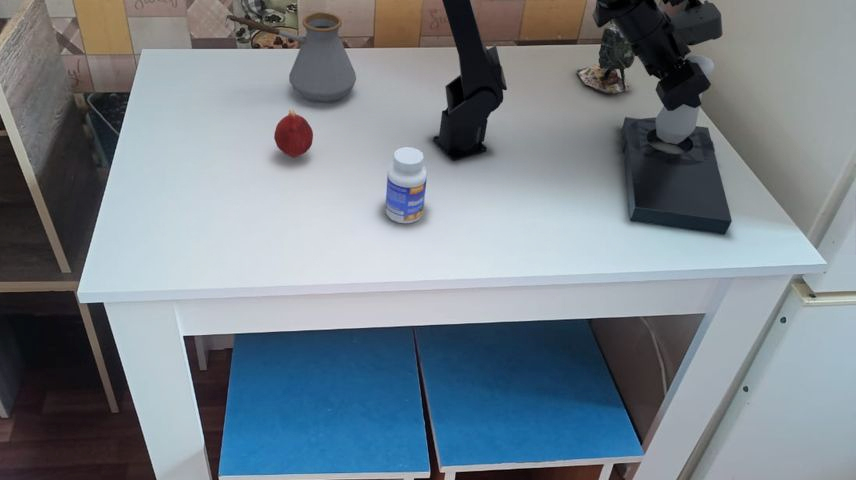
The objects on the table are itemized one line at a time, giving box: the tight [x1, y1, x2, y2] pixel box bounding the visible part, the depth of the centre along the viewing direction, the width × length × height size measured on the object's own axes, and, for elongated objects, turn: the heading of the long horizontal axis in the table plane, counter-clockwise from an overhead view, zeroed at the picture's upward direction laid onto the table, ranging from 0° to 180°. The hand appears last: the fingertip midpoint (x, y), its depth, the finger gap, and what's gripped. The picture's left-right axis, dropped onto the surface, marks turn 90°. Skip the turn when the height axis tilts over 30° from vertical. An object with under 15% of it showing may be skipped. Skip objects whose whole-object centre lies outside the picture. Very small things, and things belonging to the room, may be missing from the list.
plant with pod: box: [576, 20, 636, 95], centre depth 124 cm, size 8×11×20 cm
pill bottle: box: [384, 146, 428, 224], centre depth 101 cm, size 5×5×10 cm
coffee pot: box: [224, 11, 357, 104], centre depth 121 cm, size 21×12×15 cm, turn 102°
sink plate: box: [620, 116, 733, 235], centre depth 111 cm, size 25×13×2 cm, turn 168°
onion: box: [273, 109, 314, 158], centre depth 110 cm, size 6×6×8 cm
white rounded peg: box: [655, 54, 715, 145], centre depth 109 cm, size 6×6×13 cm
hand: (694, 99), depth 109 cm, fingers closed on white rounded peg, 3 cm apart
